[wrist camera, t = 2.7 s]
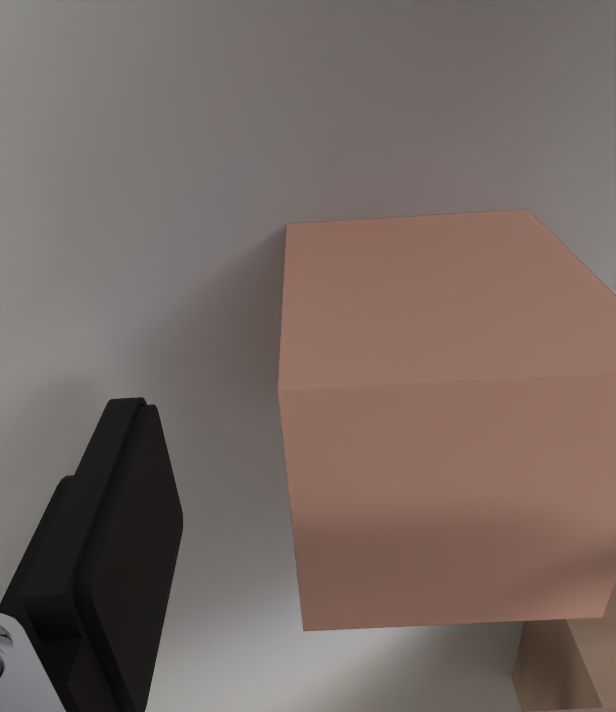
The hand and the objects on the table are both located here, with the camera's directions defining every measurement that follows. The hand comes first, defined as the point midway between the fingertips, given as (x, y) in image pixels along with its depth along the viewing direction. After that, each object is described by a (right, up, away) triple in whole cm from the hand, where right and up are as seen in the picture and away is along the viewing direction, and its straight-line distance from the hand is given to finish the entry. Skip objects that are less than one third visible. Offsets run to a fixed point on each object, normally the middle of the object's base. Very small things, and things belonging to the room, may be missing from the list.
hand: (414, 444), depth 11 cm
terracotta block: (0, +2, +3) cm, 4 cm away
